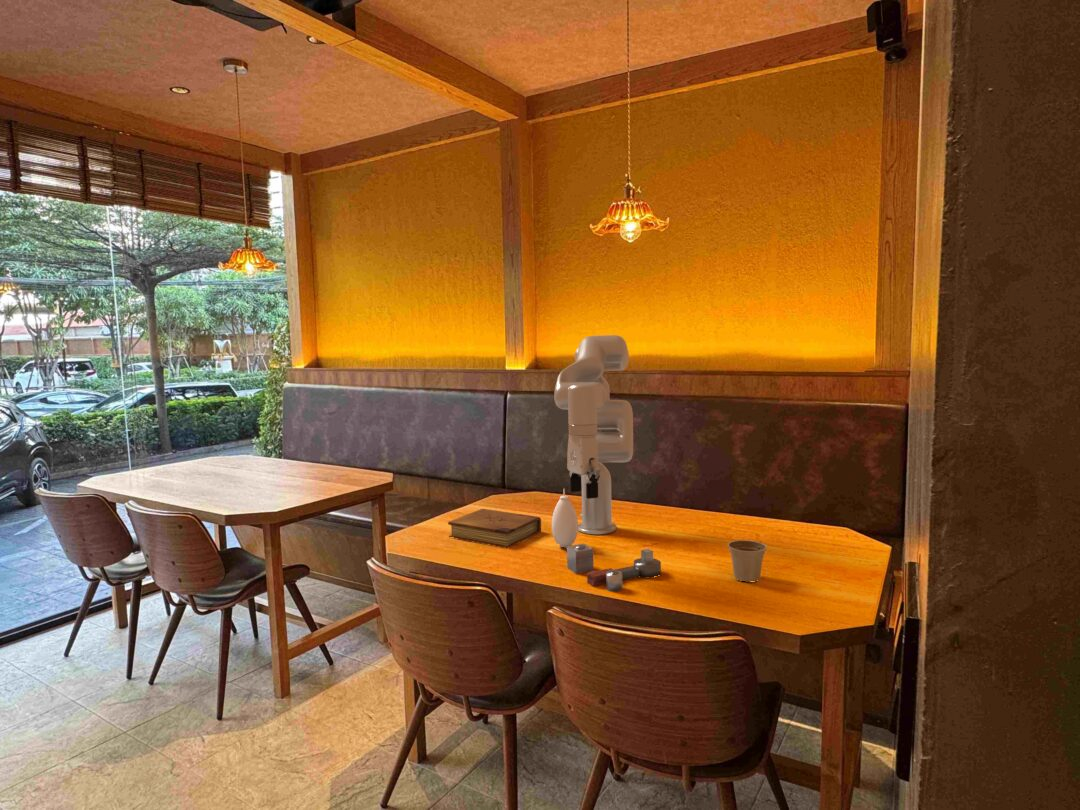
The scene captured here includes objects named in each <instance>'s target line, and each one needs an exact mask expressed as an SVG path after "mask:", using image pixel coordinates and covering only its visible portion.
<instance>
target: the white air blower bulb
mask: <svg viewBox="0 0 1080 810" xmlns="http://www.w3.org/2000/svg"><path fill="white" fill-rule="evenodd" d="M569 498H570V497H569V496H568V495H566V489H565V488H563V492H562V495H560V497H559V500H558V502H557V503H556V505H555V508H554V510H553V513H552V517H551V533H552V536H553V539H554V541H555V543H556V544H558V545H559V547H561V548H563V547H564V549H567V546H572V545H573V544H574V543H575V542H576V540H577V537H578V534H579V533H578V531H579V530H578V525H579V521H578V520H579V519H578V516H577V513H576V510H575V509H576V508H575V507H574V505H573V503H572V501H571V500H570V499H569Z"/></svg>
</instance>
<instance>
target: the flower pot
mask: <svg viewBox="0 0 1080 810" xmlns="http://www.w3.org/2000/svg"><path fill="white" fill-rule="evenodd" d="M727 548H729V552H730V555H731V562H732V570H733V578H734V577H735V578H736V579H738V580H741V581H745V582H748V581H749V582H748V583H750V581H757V580H759V581H760V579H761V572H762V568H763V567H762V566H763V559H764V556H765V554H766V550H767V549H768V546H767V545H766V544H764V543H762V542H761V541H755V540H749V539H745V540H744V539H741V540H733V541H730V542H728V543H727ZM735 578H734V579H735ZM736 579H735V580H736ZM738 580H737V581H738ZM741 581H740V582H741ZM757 582H758V581H757Z"/></svg>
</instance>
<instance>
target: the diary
mask: <svg viewBox="0 0 1080 810" xmlns="http://www.w3.org/2000/svg"><path fill="white" fill-rule="evenodd" d="M447 524H448V525H450V526H451V535H449V536H448V538H449V537H454V538H453V539H455V538H459V539H458V540H460V539H463V540H462V541H466V540H469V541H468V542H471V541H474V542H473V543H477V542H479V543H478V544H482V543H484V544H483V545H487V544H490V545H489V546H493V545H495V546H494V547H498V546H500V548H504V547H506V549H509V548H511V547H513V546H515V544H516V545H518V544H520V543H521V541H522V542H524V541H526V540H528V539H529V538H531V537H534V536H536V535H538V534H540V533H541V532H542V519H541V517H540V516H535V515H529V514H523V513H522V514H521V513H520V514H519V513H515V512H509V511H507V512H506V511H503V510H501V511H500V510H494V509H486V508H480V509H477V510H475V511H473V512H470V513H467V514H465V515H463V516H460V517H457V518H454V519H452V520H448V521H447ZM527 538H528V539H527ZM525 539H526V540H525ZM523 540H524V541H523ZM519 542H520V543H519ZM517 543H518V544H517ZM510 546H511V547H510ZM508 547H509V548H508Z"/></svg>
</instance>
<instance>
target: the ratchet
mask: <svg viewBox="0 0 1080 810" xmlns="http://www.w3.org/2000/svg"><path fill="white" fill-rule="evenodd" d="M640 553H641V554H640V558H635V560H634V561H633V565H631V566H625V567H620V568H616V569H615V568H605V569H601V570H599V569H598V570H594V571H589V572H586V577H587V578H586V580H587V581H586V582H587V584H589V585H590V586H591V587H594V588H595V587H599V586H600V587H601V586H606V572H607V571H611V570H617V571H620V572H622V581H626V579H627V580H631V579H630V578H632V579H636V578H635V577H637V578H642V577H654V576H658V575H660V574H661V575H662V562H661V561H660V560H659V559H657V558H654V550H652V549H650V548H643V549H641V550H640ZM661 575H660V576H661ZM639 576H640V577H639ZM658 577H659V576H658Z"/></svg>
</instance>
